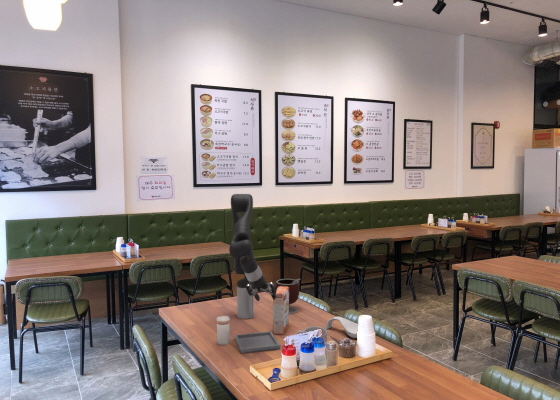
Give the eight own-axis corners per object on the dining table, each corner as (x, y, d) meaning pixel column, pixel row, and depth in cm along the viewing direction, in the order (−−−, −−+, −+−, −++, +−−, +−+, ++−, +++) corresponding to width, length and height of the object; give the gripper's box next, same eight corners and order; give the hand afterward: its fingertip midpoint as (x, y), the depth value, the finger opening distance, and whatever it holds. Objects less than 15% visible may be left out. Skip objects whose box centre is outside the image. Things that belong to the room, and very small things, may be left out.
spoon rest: (374, 336, 218) (374, 322, 217) (361, 343, 209) (361, 328, 209) (333, 325, 233) (333, 312, 233) (320, 331, 225) (320, 317, 224)
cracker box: (284, 335, 219) (284, 293, 218) (272, 334, 221) (272, 293, 219) (289, 325, 233) (289, 286, 232) (278, 324, 234) (278, 285, 233)
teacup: (329, 344, 208) (329, 327, 207) (324, 353, 198) (324, 336, 197) (300, 340, 212) (300, 324, 212) (294, 349, 202) (294, 332, 202)
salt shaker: (216, 340, 212) (215, 316, 212) (228, 339, 214) (228, 315, 213) (217, 345, 206) (217, 320, 206) (230, 344, 208) (230, 319, 207)
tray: (234, 338, 215) (234, 334, 215) (270, 335, 219) (270, 331, 219) (241, 353, 197) (241, 349, 197) (280, 349, 202) (280, 345, 202)
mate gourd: (270, 311, 255) (270, 277, 254) (283, 305, 267) (283, 272, 266) (294, 316, 247) (294, 281, 246) (306, 309, 259) (306, 276, 257)
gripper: (270, 268, 207) (281, 292, 215) (243, 271, 212) (255, 294, 220) (266, 279, 201) (278, 304, 209) (238, 282, 206) (251, 306, 214)
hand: (266, 299), depth 214 cm, fingers open, 8 cm apart
